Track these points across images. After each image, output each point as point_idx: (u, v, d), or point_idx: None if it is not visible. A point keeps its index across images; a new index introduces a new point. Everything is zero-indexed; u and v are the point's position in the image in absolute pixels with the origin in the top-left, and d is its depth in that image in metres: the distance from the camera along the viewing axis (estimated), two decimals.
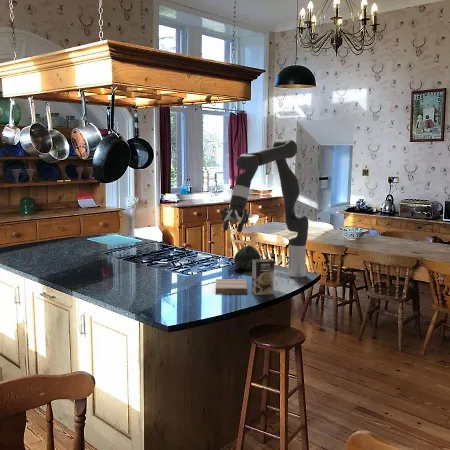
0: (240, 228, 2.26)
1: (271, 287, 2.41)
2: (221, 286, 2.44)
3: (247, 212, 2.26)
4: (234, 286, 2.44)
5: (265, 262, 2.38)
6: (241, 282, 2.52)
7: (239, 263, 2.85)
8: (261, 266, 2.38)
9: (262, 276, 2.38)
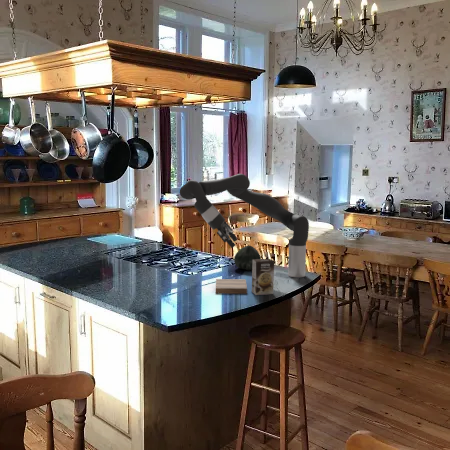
0: None
1: (271, 287, 2.41)
2: (221, 286, 2.44)
3: None
4: (234, 286, 2.44)
5: (265, 262, 2.38)
6: (241, 282, 2.52)
7: (239, 263, 2.85)
8: (261, 266, 2.38)
9: (262, 276, 2.38)
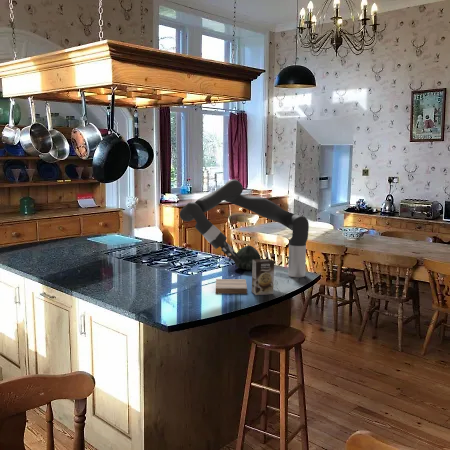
0: None
1: (271, 287, 2.41)
2: (221, 286, 2.44)
3: None
4: (234, 286, 2.44)
5: (265, 262, 2.38)
6: (241, 282, 2.52)
7: (239, 263, 2.85)
8: (261, 266, 2.38)
9: (262, 276, 2.38)
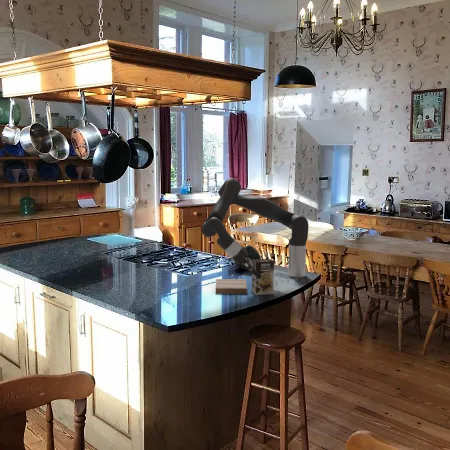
0: None
1: (271, 287, 2.41)
2: (221, 286, 2.44)
3: None
4: (234, 286, 2.44)
5: (265, 262, 2.38)
6: (241, 282, 2.52)
7: (239, 263, 2.85)
8: (261, 266, 2.38)
9: (262, 276, 2.38)
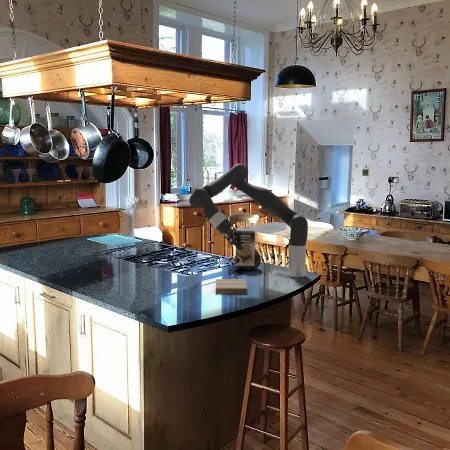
0: None
1: (252, 259, 2.41)
2: (221, 286, 2.44)
3: None
4: (234, 286, 2.44)
5: (245, 233, 2.39)
6: (241, 282, 2.52)
7: None
8: (241, 237, 2.39)
9: None
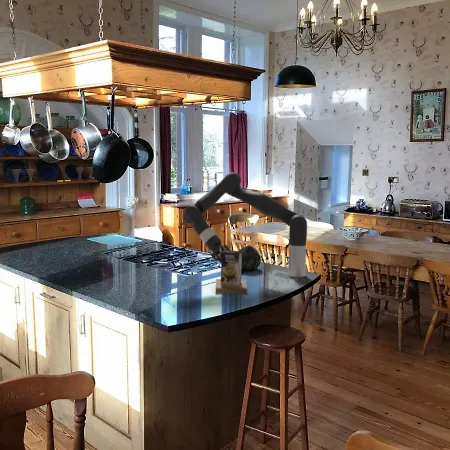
0: None
1: (236, 279, 2.46)
2: (221, 286, 2.44)
3: None
4: (234, 286, 2.44)
5: (229, 253, 2.45)
6: (241, 282, 2.52)
7: None
8: (225, 257, 2.45)
9: (226, 267, 2.46)
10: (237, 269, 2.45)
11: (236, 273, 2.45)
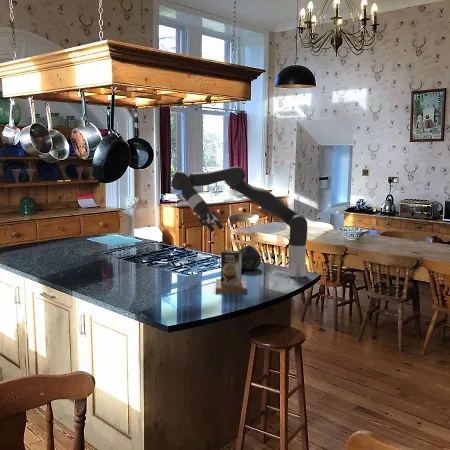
0: (221, 224, 2.55)
1: (236, 279, 2.46)
2: (221, 286, 2.44)
3: None
4: (234, 286, 2.44)
5: (229, 253, 2.45)
6: (241, 282, 2.52)
7: None
8: (225, 257, 2.46)
9: (226, 267, 2.46)
10: (237, 269, 2.45)
11: (236, 273, 2.45)
